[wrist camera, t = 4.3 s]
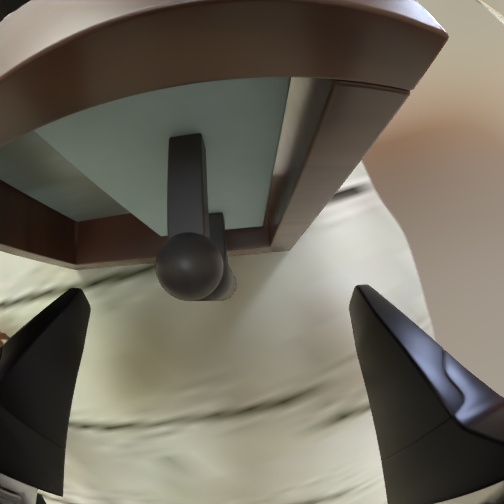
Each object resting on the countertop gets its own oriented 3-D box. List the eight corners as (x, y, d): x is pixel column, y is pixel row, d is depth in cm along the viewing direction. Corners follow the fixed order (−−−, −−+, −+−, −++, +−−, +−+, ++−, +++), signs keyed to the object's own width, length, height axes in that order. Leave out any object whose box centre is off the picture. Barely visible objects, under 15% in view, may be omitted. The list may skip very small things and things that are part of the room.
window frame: (281, 184, 18) (345, -55, 3) (290, 250, 17) (452, 37, 2) (77, 211, 17) (-78, 104, 2) (75, 269, 17) (-116, 210, 1)
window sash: (261, 214, 15) (289, 40, 4) (270, 296, 14) (344, 282, 3) (160, 224, 15) (31, 98, 4) (163, 304, 14) (-8, 302, 3)
